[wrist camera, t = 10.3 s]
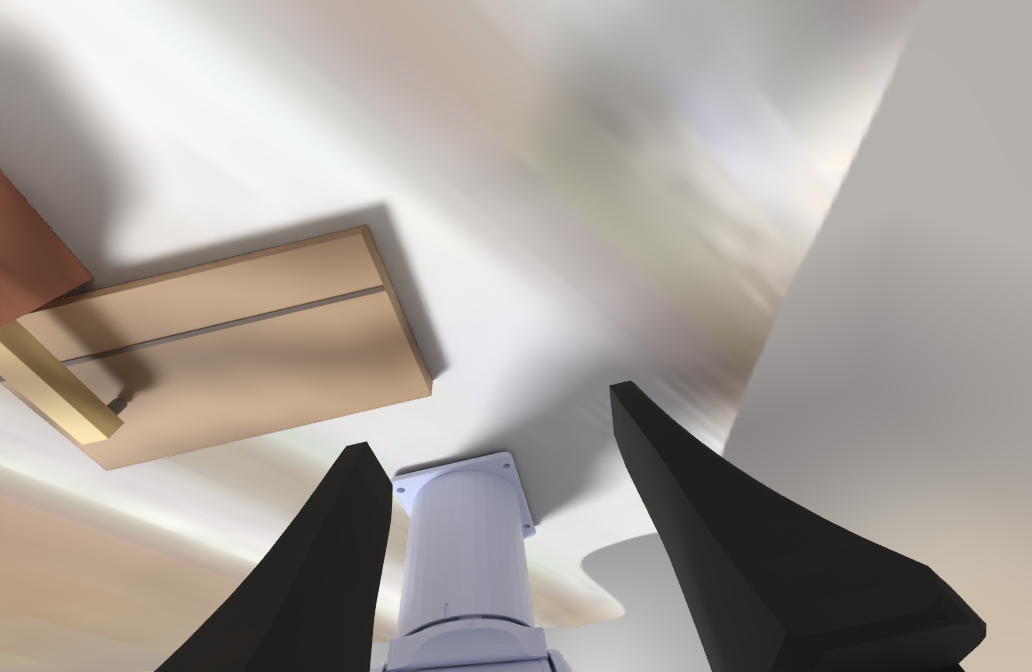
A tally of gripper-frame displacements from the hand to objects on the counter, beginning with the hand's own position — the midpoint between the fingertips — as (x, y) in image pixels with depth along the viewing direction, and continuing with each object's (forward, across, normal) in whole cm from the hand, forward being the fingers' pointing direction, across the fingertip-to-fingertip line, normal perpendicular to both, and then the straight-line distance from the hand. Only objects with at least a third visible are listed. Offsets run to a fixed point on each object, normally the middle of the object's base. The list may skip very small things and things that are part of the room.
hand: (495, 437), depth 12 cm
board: (+9, +13, 0) cm, 16 cm away
